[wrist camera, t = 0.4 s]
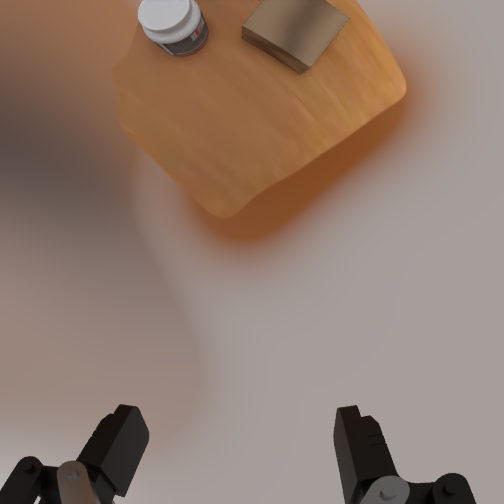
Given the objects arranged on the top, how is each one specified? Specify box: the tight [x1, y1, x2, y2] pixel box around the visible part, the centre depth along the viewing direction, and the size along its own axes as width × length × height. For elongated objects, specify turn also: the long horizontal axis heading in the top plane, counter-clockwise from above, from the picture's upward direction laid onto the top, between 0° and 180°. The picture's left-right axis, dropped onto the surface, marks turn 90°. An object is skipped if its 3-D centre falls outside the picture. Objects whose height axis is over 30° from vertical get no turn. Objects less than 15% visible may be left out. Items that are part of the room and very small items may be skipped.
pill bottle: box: [138, 0, 208, 56], centre depth 21 cm, size 6×6×10 cm
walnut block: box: [242, 0, 350, 74], centre depth 24 cm, size 8×8×5 cm
